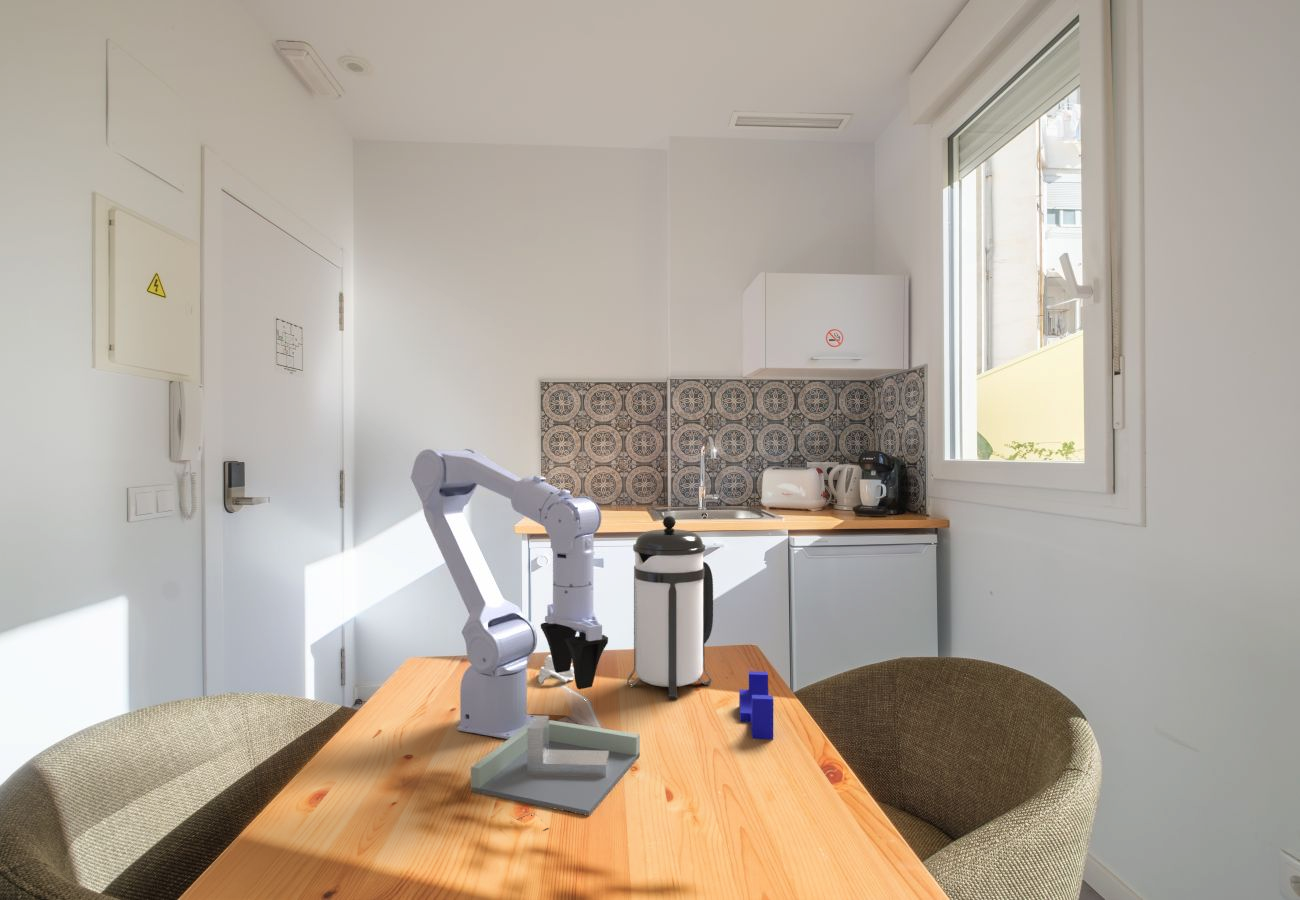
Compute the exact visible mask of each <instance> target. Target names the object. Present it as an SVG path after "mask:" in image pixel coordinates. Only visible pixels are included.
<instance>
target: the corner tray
mask: <svg viewBox="0 0 1300 900" xmlns="http://www.w3.org/2000/svg"><path fill="white" fill-rule="evenodd" d="M529 724H530V723H529ZM529 724H528V725H527V726H525V727H524V728H523V729H521V730H520V731H519V732H517V733H516V734H515V735H513V736H512V737H510V738H509V739H506V740H505V741H504V742H503V743H501V744H500V745H498V746H497V747H495V749H493V750H492V751H490V752H489V753H488V754H486V755H485V756H484V757H482V758H481V759H480V760H478V761H477V762H475V763H474V764H472V766H471V767H470V792H473V793H477V794H482V795H487V796H492V797H497V798H502V799H507V800H511V801H515V802H520V803H525V804H530V805H536V806H539V807H544V806H545V808H548V807H550V809H553V808H556V809H555V810H558V809H561V810H560V811H563V810H567V811H572V812H576V813H575V814H577V813H580V814H579V815H582V814H586V815H585V816H587V815H590V814H591V815H592V813H593V812H594V811H595V810H596V809H595V808H598V806H599V805H600V804H601V803H602V801H603V800H604V799H605V798H606V797H607V795H608V794H609V793H610V792H611V791H612V790H613V789H614V787H615V786H616V785H617V784H618V783H619V781H621V779H622V778H624V775H625V774H626V773H628V771H629V770H630V768H631V767H632V766H633V764H634V763H635V762H636V761H637V760H638V759H639V757H640V752H641V751H640V743H641V740H640V739H641V738H640V737H641V736H640V733H634V732H627V731H623V730H622V731H621V730H617V729H616V730H614V729H608V728H603V727H602V728H601V727H597V726H589V725H584V724H583V725H582V724H578V723H571V722H565V721H558V720H552V719H551V720H550V719H549V750H594V751H609V765H608V770H607V774H606V777H590V776H539V775H527V728H528V726H529ZM599 803H600V804H599ZM598 804H599V805H598ZM562 809H563V810H562ZM594 809H595V810H594ZM593 810H594V811H593ZM567 811H566V812H567ZM572 812H571V813H572ZM581 813H582V814H581ZM591 815H590V816H591Z"/></svg>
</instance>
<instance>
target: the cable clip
mask: <svg viewBox="0 0 1300 900" xmlns="http://www.w3.org/2000/svg"><path fill="white" fill-rule="evenodd" d="M738 694H739V695H738V697H739V698H738V699H739V700H738V701H739V702H738V703H739V718H740V722H744V723H750V729H751V738H752V740H774V696H773V695H772V694H771V695H770V694H769V673H768V671H759V670H758V671H751V670H749V671H748V689H744V688H743V689H741V688H740V689H739V692H738Z"/></svg>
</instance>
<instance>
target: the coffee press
mask: <svg viewBox="0 0 1300 900" xmlns="http://www.w3.org/2000/svg"><path fill="white" fill-rule="evenodd" d="M676 523H677V522H676V520H675V518H674V516H671V515H668V516H665V517H664V518H663V521H662V525H663V527H665V528H664V529H663V528H662V529H661V528H660V529H653V530H647V531H645V532H642V533H641V534H640V535H639V536H637V539H636V541H635V543H634V544H633V546H632V550H633V553H634V554H635V556H634V557H635V558H634V559H635V560H634V563H635V564H634V566H633V668H632V671H631V673H630V674H629V676H628V677H627V679H626V681H627V682H626V683H627V685H628V687H630V686H634V687H635V686H636V685H637V684H638V683H639V682H645V683H647V684H649V685H652V686H657V687H658V686H659V687H667V691H668V700H677V699H678V689H677V687H683V686H686V685H690V684H693V683H695V682H697V681H699V682H701V683H702V684H703V685H705V686H709V685H710V684H711V683H712V679H711V677H710V675H709V674H708V673H707V671H706V669H705V644H706V643H707V642H708V641H709V638H710V637H711V633H712V630H713V625H714V624H713V623H714V584H713V583H714V582H713V581H714V579H713V574H712V570H711V567H710V565H709V564H708V563H707V562H705V561H704V554H705V551H706V545H705V544H704V543H703V540H702V537H700V536H699V535H698V534H697V533H695V532H693V531H690V530H684V529H675V528H674V527H675V525H676ZM703 672H704V673H705V675H706V676H707V677H708V681H704V680H703V679H701V677H702V674H703ZM634 673H635V674H636V676H637V679H636V680H635V681H634V682H633V683H630V682H629V681H631V678H632V677H633V675H634ZM631 684H632V685H631Z"/></svg>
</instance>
